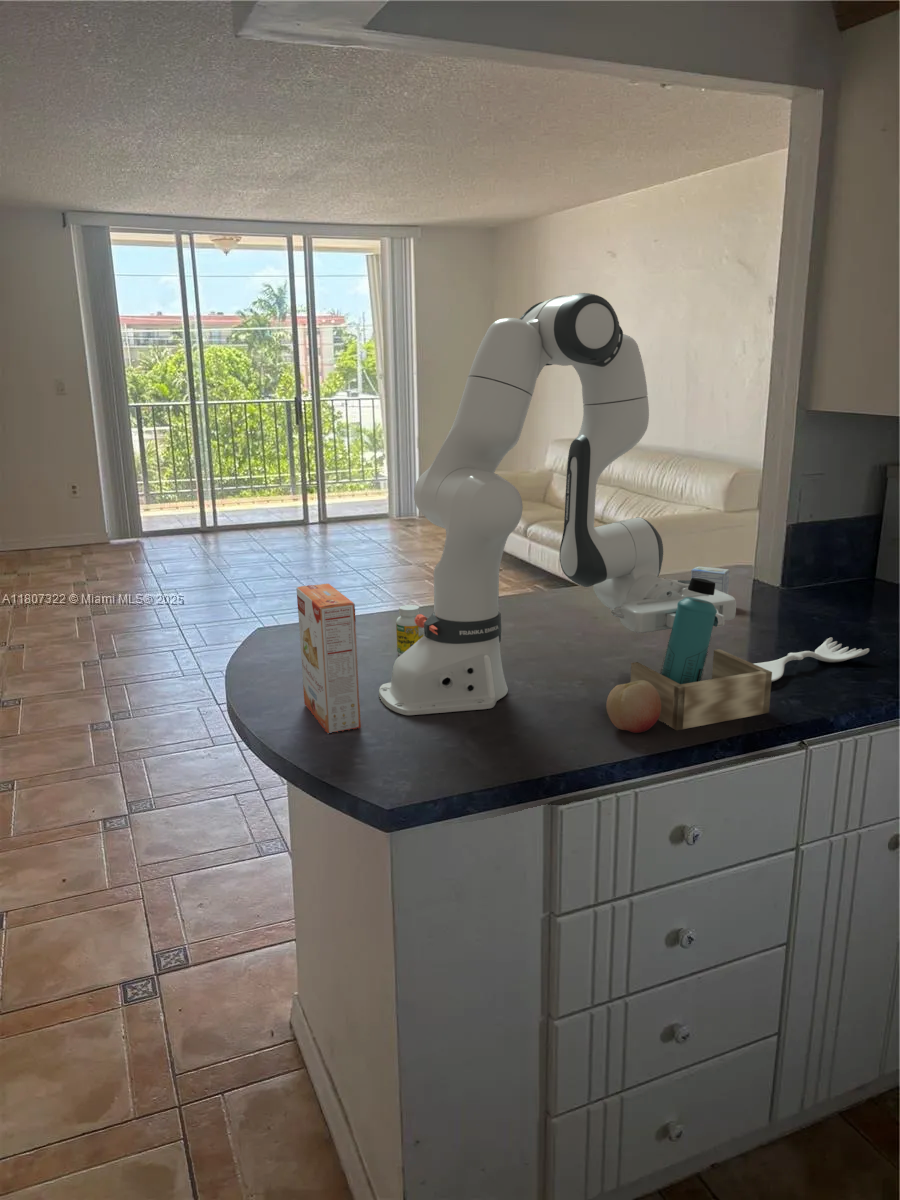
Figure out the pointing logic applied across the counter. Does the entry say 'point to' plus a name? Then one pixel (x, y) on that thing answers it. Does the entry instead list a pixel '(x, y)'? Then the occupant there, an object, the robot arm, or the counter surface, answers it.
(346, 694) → the cracker box
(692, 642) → the beverage bottle
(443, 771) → the counter surface
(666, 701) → the box
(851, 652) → the white long slender part
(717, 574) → the medicine box
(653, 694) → the fruit
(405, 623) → the supplement bottle
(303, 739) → the counter surface
